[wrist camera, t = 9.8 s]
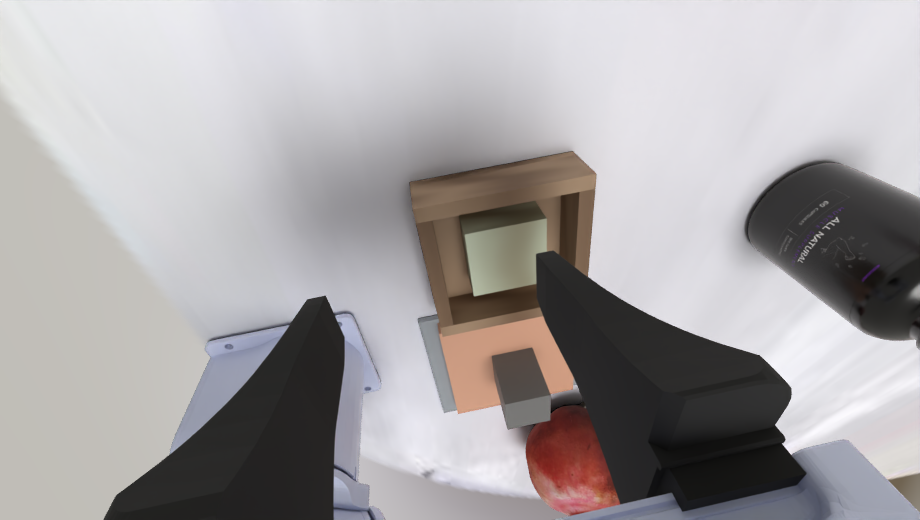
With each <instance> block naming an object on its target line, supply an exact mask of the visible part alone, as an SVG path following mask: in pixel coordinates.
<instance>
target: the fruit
mask: <svg viewBox="0 0 920 520" xmlns="http://www.w3.org/2000/svg"><path fill="white" fill-rule="evenodd" d="M526 459H527V464H528V469H529V474H530V478H531V481H532V483H533V485H534V487H535V489H536V491H537V493H538V494H539V495H540V497H541V498H542V499H543V500H544V502H545V503H546V504H547V505H548V506H550V507H551V508H553V509H555V510H557V511H560V512H562V513H564V514H566V515H569V516H572V515H577V514H581V513H585V512H590V511H594V510H599V509H603V508H607V507H612V506H616V505H620V502H619V499H618V496H617V493H616V490H615V487H614V484H613V481H612V478H611V475H610V472H609V469H608V466H607V463H606V461H605V458H604V455H603V452H602V449H601V446H600V444H599V441H598V438H597V435H596V433H595V430H594V427H593V425H592V422H591V419H590V417H589V414H588V411H587V409H586V406H585V404H584V401H583V403H581V404H580V405H569V406H563V407H560V408H558V409H556V410H554V411H553V412H552V413H551V414H550V421H545V422H540V423H537V424H536V425H535V426H534V427H533V429H532V430H531V432H530V434H529V436H528V438H527V443H526Z"/></svg>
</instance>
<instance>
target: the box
mask: <svg viewBox="0 0 920 520" xmlns="http://www.w3.org/2000/svg"><path fill="white" fill-rule="evenodd" d="M595 186H596V173H595V172H594V171H593V170H592V169H591V168H590V167H589V166H588V165H587V164H586V163H585V162H584V161H583V160H581V159H580V158H579V157H578V156H577V155H576V154H575V153H574V152H573V151H572V152H566V153H561V154H556V155H551V156H545V157H540V158H535V159H529V160H524V161H519V162H514V163H508V164H503V165H498V166H493V167H487V168H482V169H477V170H471V171H466V172H461V173H456V174H450V175H445V176H440V177H435V178H429V179H424V180H419V181H413V182H410V191H411V200H412V209H413V213H414V218H415V222H416V226H417V230H418V235H419V239H420V243H421V247H422V252H423V256H424V260H425V264H426V269H427V273H428V277H429V281H430V286H431V290H432V294H433V298H434V303H435V307H436V311H437V315H438V319H439V324H440V328H441V332H442V336H443V337H445V336H450V335H455V334H459V333H464V332H469V331H474V330H479V329H484V328H488V327H493V326H498V325H503V324H508V323H513V322H517V321H522V320H527V319H532V318H537V317H542V316H543V314H542V312H541V309H540V306H539V303H538V300H537V289H536V254H537V253H542V252H547V251H552V250H554V251H555V252H556V253H558V254H559V255H560V256H561V257H563V258H564V259H565V260H566V261H568V262H569V263H570V264H572V265H573V266H574V267H575V268H577V269H578V270H579V271H581V272H582V273H583V274H585V275H586V276H587V277H588V269H589V257H590V245H591V233H592V221H593V210H594V198H595Z"/></svg>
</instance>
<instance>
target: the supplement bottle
mask: <svg viewBox="0 0 920 520" xmlns="http://www.w3.org/2000/svg"><path fill="white" fill-rule="evenodd" d="M748 236H749V240H750V242H751V244H752V245H753V246H754V248H755V249H757V250H758V251H759V252H760V253H761V254H763V255H764V256H765V257H766V258H767V259H769V260H770V261H771V262H773V263H774V264H775V265H776V266H778V267H779V268H780V269H782V270H783V271H784V272H785V273H787V274H788V275H789V276H791V277H792V278H793V279H794V280H796V281H797V282H798V283H800V284H801V285H802V286H803V287H805V288H806V289H807V290H808V291H810V292H811V293H812V294H814V295H815V296H816V297H817V298H819V299H820V300H821V301H823V302H824V303H825V304H826V305H828V306H829V307H830V308H832V309H833V310H834V311H835V312H837V313H838V314H839V315H841V316H842V317H843V318H844V319H846V320H847V321H848V322H850V323H851V324H852V325H854V326H855V327H856V328H858V329H859V330H861V331H862V332H864V333H865V334H868V335H870V336H873V337H876V338H880V339H884V340H892V341H905V340H916V346H917V348H918V349H919V350H920V198H919V197H917V196H915V195H913V194H910V193H908V192H906V191H904V190H901V189H899V188H897V187H895V186H892V185H890V184H888V183H886V182H883V181H881V180H879V179H877V178H874V177H872V176H870V175H868V174H865V173H863V172H860V171H858V170H856V169H853V168H851V167H849V166H846V165H843V164H839V163H821V164H816V165H812V166H809V167H806V168H803V169H801V170H799V171H796V172H794V173H793V174H791V175H789V176H787V177H786V178H784V179H783V180H782V181H780V182H779V183H778V184H776V185H775V186H774V187H773V188H772V189H771V190H769V191H768V192H767V193H766V195H765V196H764V197H763V198H762V199H761V200H760V202H759V203H758V205H757V206H756V208H755V209H754V211H753V213H752V215H751V218H750V221H749V225H748Z"/></svg>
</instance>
